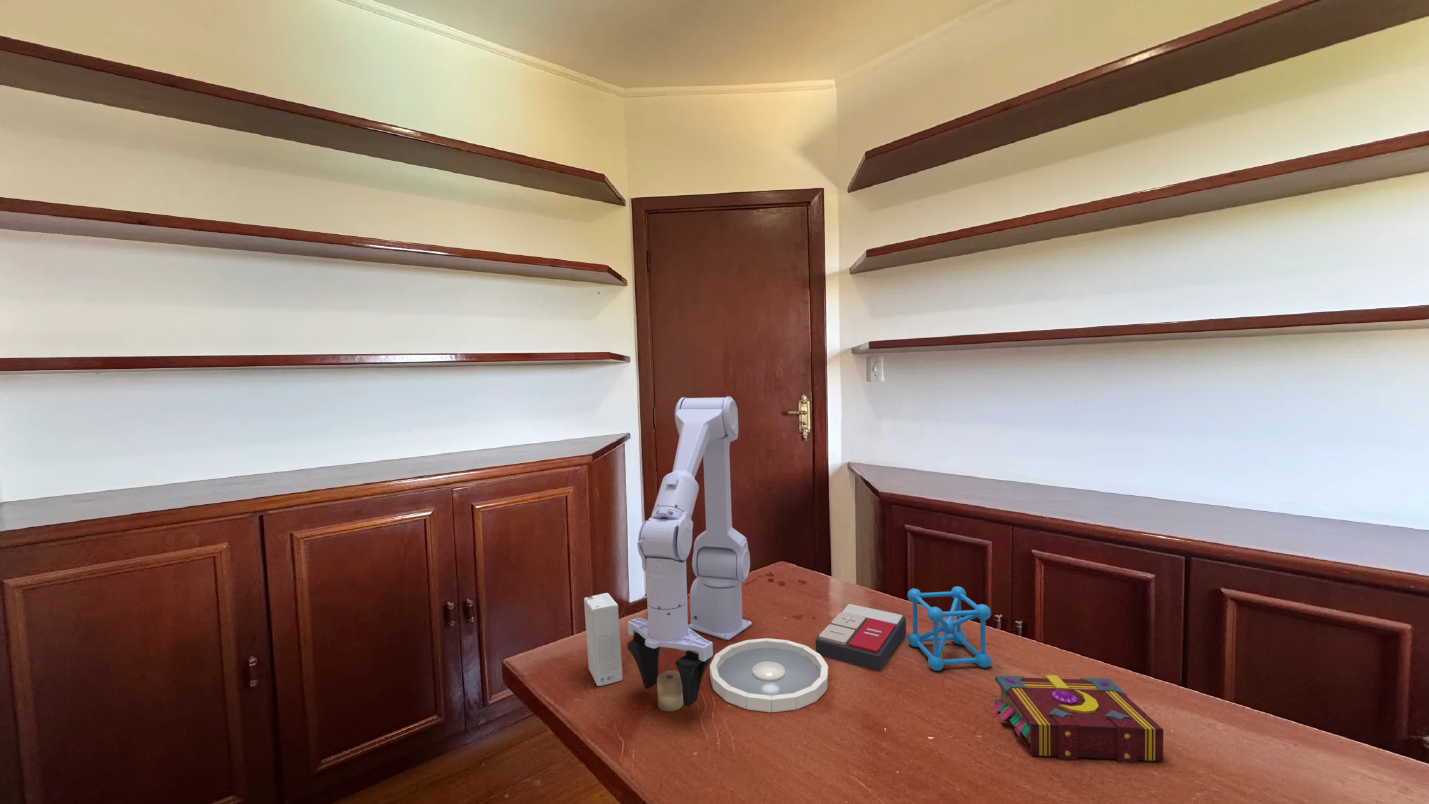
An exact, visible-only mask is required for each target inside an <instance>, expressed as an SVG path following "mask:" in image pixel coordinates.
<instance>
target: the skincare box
mask: <svg viewBox="0 0 1429 804" xmlns="http://www.w3.org/2000/svg"><path fill="white" fill-rule="evenodd" d="M583 603H584V604H583V605H584V616H585V617H584V619H585V632H586V644H587V645H586V647H587V663H588V670H589V672H590V675H591V677H592V678H593V680H594V683H595V684H596V687H601V686H607V685H610V684H614V683H617V682H618V683H619V682H620V681H623V678H624V677H623V664H622V662H623V661H622V648H621V647H622V646H621V644H622V643H621V632H620V617H619V616H620V615H619V604H618V603H617V602H616V601H615V600H614V598H613V596H611V595H610V593H608V592H605V593H600V594H595V595H591V596H588V597H587V596H586V597H584V598H583Z"/></svg>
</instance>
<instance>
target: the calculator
mask: <svg viewBox="0 0 1429 804" xmlns="http://www.w3.org/2000/svg"><path fill="white" fill-rule="evenodd" d="M906 636H907V618H906V616H904V615H902V614H898V613H895V612H889V611H885V610H880V609H875V608H871V607H866V606H862V605H856V604H852V603H849V604H847V605H846V606H845V607H843V609H842V610H841V611H840V612H839V613H838V614H837V615H836V616H835V617H834V618H833V620H832V621H831V622H830V623H829V624H828V625H826V627H825V628H824V629H823V631H821V632H820V634H819V635H817V637H816V638H815V652H817V653H819V654H820V655H821V656H822V657H823V658H824V657H825V658H828V659H832V660H836V661H839V662H842V663H846V664H850V665H853V666H857V667H861V668H864V669H868V670H872V671H875V672H881V671H882V670H883V669H884V667H885V665H887V664H888V662H889V660H890V658H891V657H892V655H893V653H894V652H895V650H896V649H897V647H898V646H899V645H900V644H901V643H902V642H903V641H904V640H905V638H906Z"/></svg>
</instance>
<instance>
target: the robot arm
mask: <svg viewBox="0 0 1429 804" xmlns="http://www.w3.org/2000/svg"><path fill="white" fill-rule="evenodd" d="M738 409H739V408H738V406H737V403H736V401H735V399H733V397H732V396H725V397H683V396H682V397H681V398H680V399H678V401H677V403H676V405H675V409H674V421H675V425H676V430H677V433H678V435H679V437H678V443H677V449H676V453H675V458H674V463H673V467H672V472H670V473H667V474H666V475H665V476H664V477H663V478H662V481H661V484H660V487H659V490H658V493H657V497H656V500H655V502H654V507H653V509H652V513H651V515H650V517H649V518H648V520H645V521H643V522H642V523H641V525H640V529H639V532H638V539H637V542H636V544H637V545H636V546H637V550H638V551H637V552H638V554H639V556H640V559H641V568H642V570H643V572H644V571H645V574H646V575H645V576H646V579H645V580H646V602H647V603H646V605H647V607H646V608H647V619H645V618H639V617H635V618H633V619H631V620H629V621H628V622H627V634H628V635H629V636H631V637H633V638H632V640H629V641H628V642H627V644H626V645H627V650H628V651H629V652H630V653H631V655H632V657H633V659H634V660H635V661H634V662H635V663H636V665H637V668H638V670H639V675H640V677H641V681H642V683H643V687H644V689H645V690H647V691H648V690H650V689H651V688H653V687H655V686H656V685H657V677H658V675H659V656H660V655H659V654H660V649H661V648H667V649H668V648H669V649H677V650H679V651H682V652H685V655H684V656H682V657H680V658H678V659H677V660H676V661H675V666H676V668H677V670H678V672H679V674H680V677H681V682H682V693H683V705H684V706H685V707H687V708H689V707H690V706H692V705H694V703H696V702H697V701H698V697H699V692H700V691H699V690H700V687H701V684H702V680H703V677H704V674H705V671H706V669H707V667H708V665H709V663H710V661H711V659H712V657H714V650H713V649H714V647H713V641H711V640H708V639H705V638H704V637H703V636H701V635H699V634H698V633H697V632H700V633H704V634H706V635H710V636H713V637H716V638H719V639H722V640H725V641H730V640H731V639H732V638H734V637H735V636H737V635H738V634H740V633H742V632H743V631H744V630H746V629H748V628H749V627H750V626H751V625H753V623H752V621H750V620H747V619H743V599H742V598H743V597H742V596H743V595H742V582H745V581H746V580H747V578H748V576H749V574H750V573H749V572H750V568H751V556H750V551H749V544H748V541H747V537H746V536H744V535H743V534H742V533H741V532H739V531H738V530H736V529H735V528H733V520H732V519H733V518H732V491H731V490H732V488H731V461H730V460H731V459H730V447H731V442H734V441H736V440H738V438H739V436H738V435H739V412H738V411H739V410H738ZM702 459H703V461H702ZM701 462H703V482H704V484H703V485H704V505H705V506H704V510H705V530H704V531H703V532H700V534H699V535H697V537H696V538H695V540H694V542H693V528H694V521H693V520H692V516H693V512H694V508H695V505H696V503H697V502H696V501H697V498H698V494H699V490H700V486H699V484H698V481H697V480H696V479H695V478H696V475H697V473H698V469H699V467H700V464H701ZM692 544H693V554H692V561H691V568H692V572H693V573H694V576H695V577H696V578H695V579H694V580H693V582H692V584H691V586H690V591H689V611H688V587H687V586H688V584H687V582H688V581H687V559H688V557H689V555H690V552H691V550H692V549H691V548H692ZM688 612H689V613H690V623H689V622H688V621H689V618H688V617H689V614H688ZM688 623H689V624H688ZM694 630H695V631H694ZM696 631H697V632H696Z"/></svg>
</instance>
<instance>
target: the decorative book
mask: <svg viewBox="0 0 1429 804" xmlns="http://www.w3.org/2000/svg"><path fill="white" fill-rule="evenodd" d="M994 680H995V682H996V683H997V685H998V686H999V687H1000V698H995V699H994V703H995V705H993V707H992V710H993V712H994V713H995V714H998V715H999V718H1000V719H1001V720H1002V721H1005V720H1006V721H1008V722H1009V723H1010V725H1011V726H1012V728H1013V730H1014V732H1015V733H1016V734H1017V736H1018V738H1020V740H1021V741H1022V743H1023V744H1024V746H1025V748H1026V749H1027V750H1028V751H1029V753H1030V755H1031V756H1039V757H1040V756H1042V757H1044V756H1045V757H1056V758H1058V760H1059V761H1071V760H1079V759H1078V758H1082V759H1083V758H1087V759H1088V758H1089V759H1104V760H1105V759H1107V760H1108V759H1110V760H1115V761H1117V763H1118V762H1121V763H1120V764H1123V763H1122V762H1127V763H1126V764H1136V763H1137V764H1138V761H1149V762H1150V761H1152V762H1153V761H1154V762H1164V728H1162V726H1160V725H1159V724H1158V723H1157V722H1156V721H1155V720H1153V719H1152V718H1151V717H1150V716H1149V715H1148V714H1147V713H1146V712H1145V711H1144V710H1142V708H1140V707H1139V706H1138V705H1137V704H1136V703H1134V701H1132V700H1131V698H1129V697H1128V693H1127V692H1125V691H1124V690H1123V689H1122V688H1121V687H1120V686H1119V685H1118V684H1117V683H1116V682H1114V681H1113V680H1112V679H1111V678H1110V677H1109V678H1107V677H1105V678H1103V677H1099V678H1098V677H1080V678H1079V679H1078V678H1077V679H1076V678H1075V679H1073V678H1060V677H1059V676H1058V675H1052V674H1050V675H1047V674H1046V675H1045V677H1044V678H1043V677H1040V678H1039V677H1025V675H1005V674H1003V675H1002V674H995V675H994ZM999 712H1000V713H999ZM1128 762H1129V763H1128Z"/></svg>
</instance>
